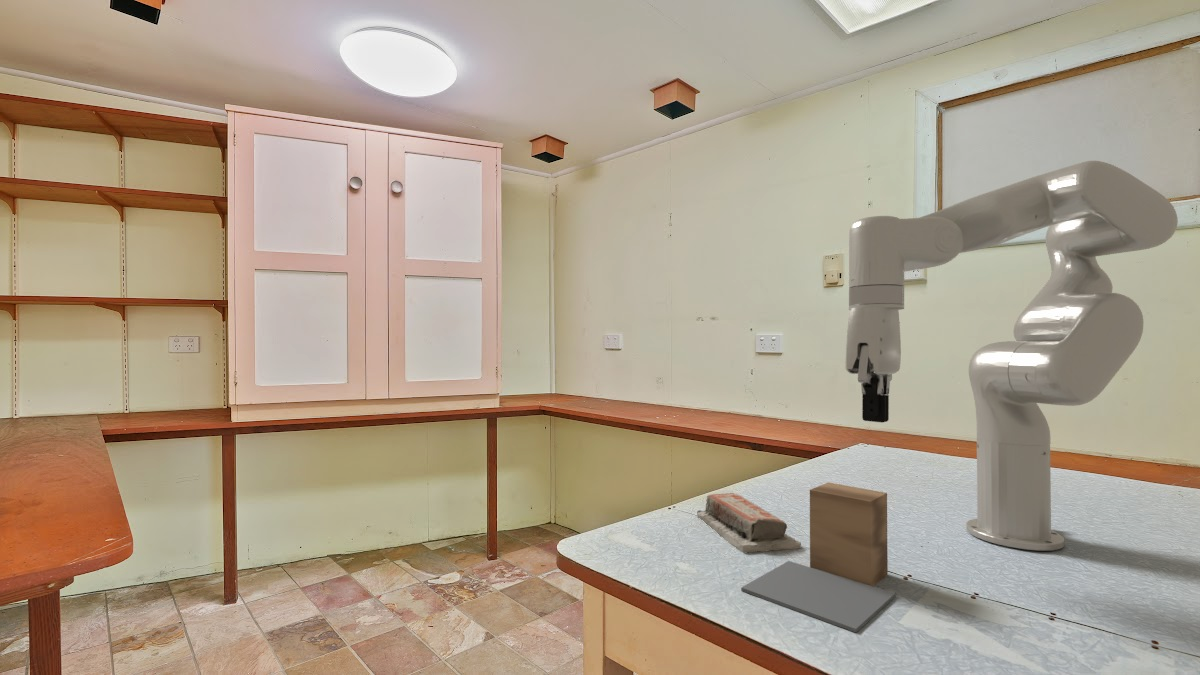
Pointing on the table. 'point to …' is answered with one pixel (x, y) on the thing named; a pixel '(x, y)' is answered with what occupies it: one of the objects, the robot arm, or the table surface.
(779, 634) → the table surface
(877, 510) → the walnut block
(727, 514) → the packaged product
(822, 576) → the mat
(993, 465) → the robot arm
